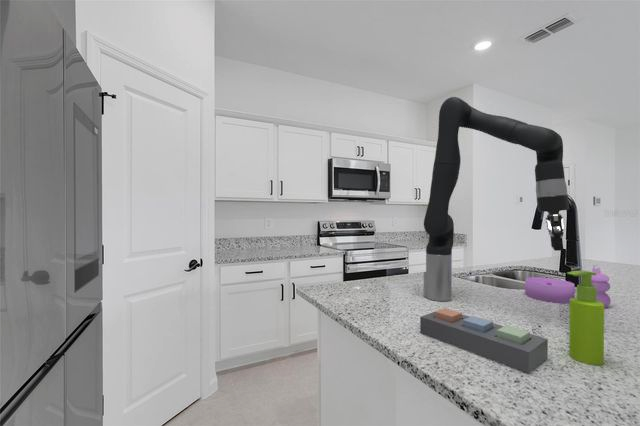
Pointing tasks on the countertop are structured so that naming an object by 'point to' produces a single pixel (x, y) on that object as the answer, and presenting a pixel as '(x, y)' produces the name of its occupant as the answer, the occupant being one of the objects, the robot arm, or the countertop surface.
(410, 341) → the countertop surface
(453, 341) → the button panel
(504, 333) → the sage green button
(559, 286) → the container set
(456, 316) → the terracotta button
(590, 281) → the soap dispenser
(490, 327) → the slate blue button
